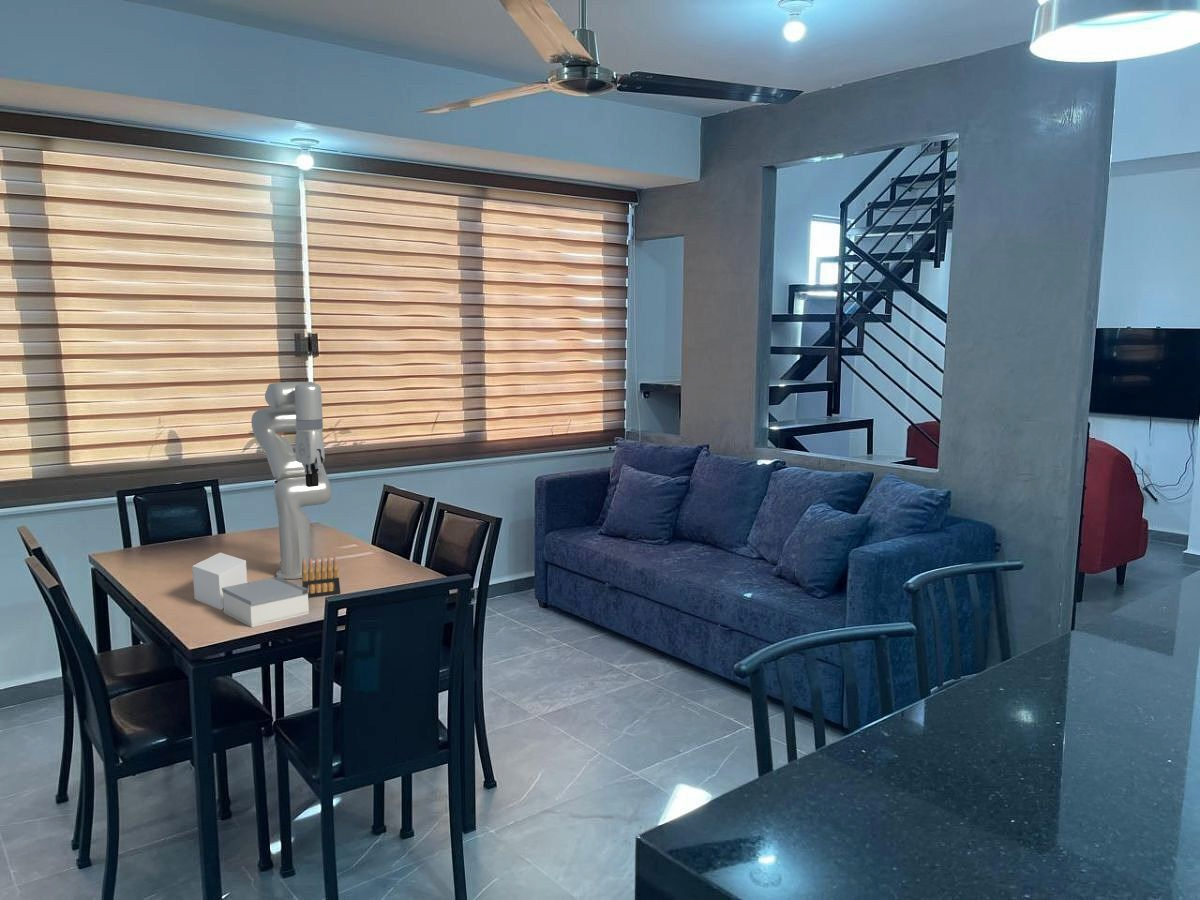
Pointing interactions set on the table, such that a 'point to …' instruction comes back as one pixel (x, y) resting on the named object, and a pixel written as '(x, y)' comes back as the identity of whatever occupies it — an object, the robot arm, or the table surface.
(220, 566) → the white rectangular block
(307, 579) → the ammunition clip
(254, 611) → the box
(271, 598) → the lid
